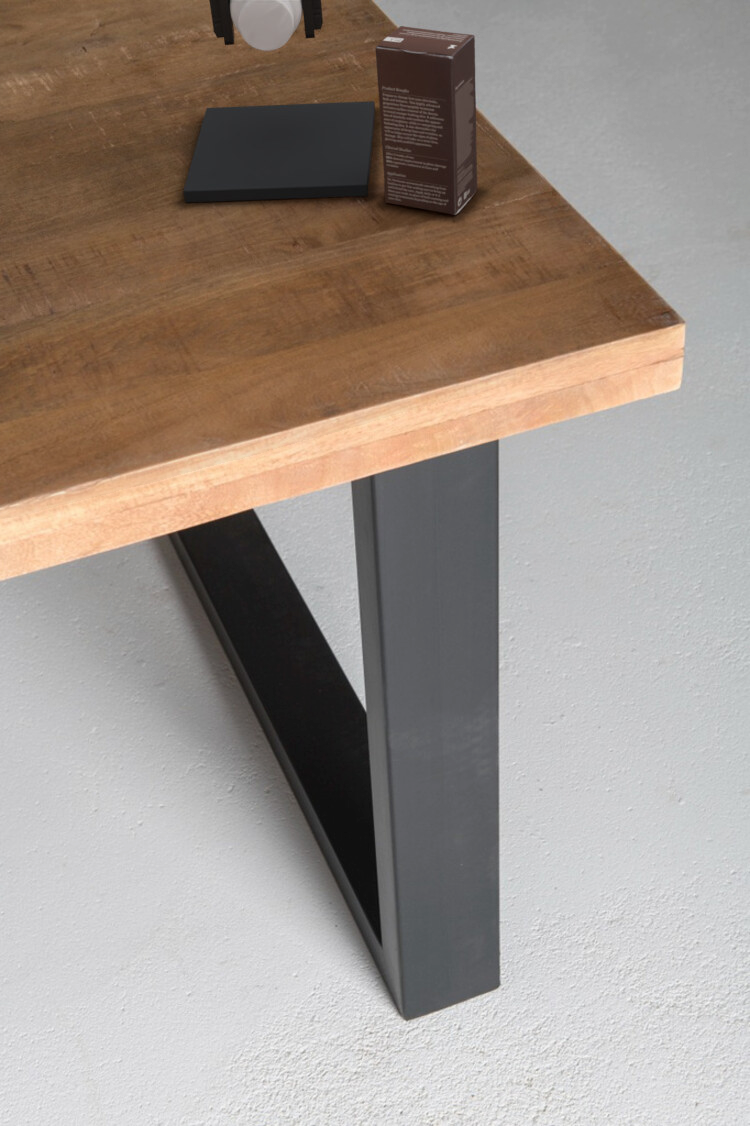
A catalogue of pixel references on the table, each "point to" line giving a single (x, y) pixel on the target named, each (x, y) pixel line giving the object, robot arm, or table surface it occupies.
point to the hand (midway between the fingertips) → (270, 36)
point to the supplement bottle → (266, 21)
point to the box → (428, 118)
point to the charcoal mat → (282, 152)
